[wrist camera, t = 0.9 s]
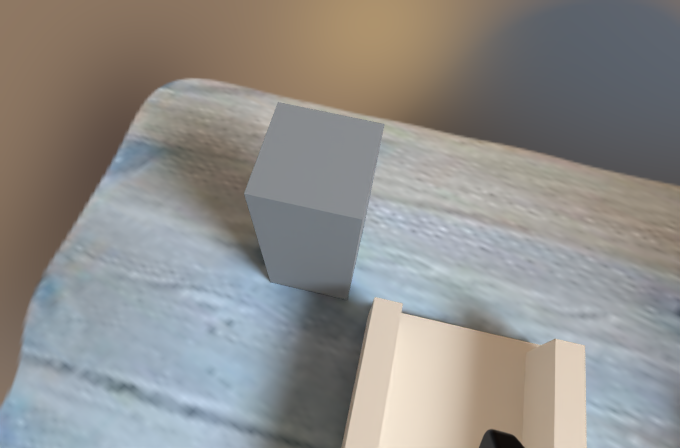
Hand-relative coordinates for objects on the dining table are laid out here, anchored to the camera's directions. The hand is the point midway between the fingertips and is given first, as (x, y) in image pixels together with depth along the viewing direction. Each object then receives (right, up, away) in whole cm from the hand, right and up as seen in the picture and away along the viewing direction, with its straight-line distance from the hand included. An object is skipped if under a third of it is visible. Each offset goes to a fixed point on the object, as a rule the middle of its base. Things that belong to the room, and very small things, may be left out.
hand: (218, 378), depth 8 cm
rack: (+7, -7, +13) cm, 16 cm away
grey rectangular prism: (+1, +1, +16) cm, 16 cm away
